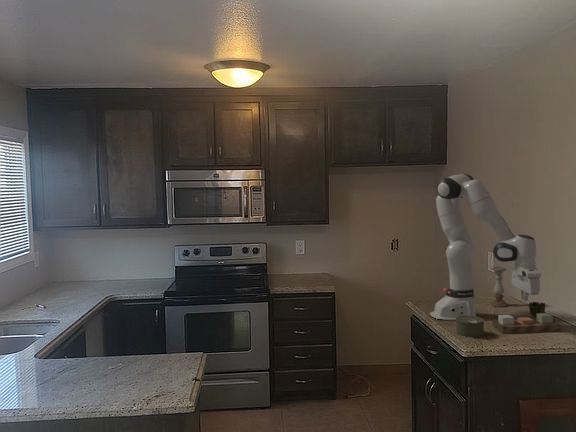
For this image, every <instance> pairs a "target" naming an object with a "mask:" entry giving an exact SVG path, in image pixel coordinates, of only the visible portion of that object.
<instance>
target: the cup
mask: <svg viewBox="0 0 576 432" xmlns="http://www.w3.org/2000/svg"><path fill="white" fill-rule="evenodd" d="M528 308H529V313H530V315H531V316H532V318H537V313H546V303H545V302H541V303H539V301H537V302H536V301H533V302H532V301H531V302H528Z"/></svg>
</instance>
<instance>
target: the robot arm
mask: <svg viewBox="0 0 576 432" xmlns="http://www.w3.org/2000/svg"><path fill="white" fill-rule="evenodd" d="M435 190H436V194H437V196H436V198H435V204H436V205H435V206H436V210H437V215H438V217H439V218H438V219H439V222H440V225H441V229H442V231H443V233H444V235H445V237H446V238H447V240H448V243H449V245H448V246H447V248H446V250H445V256H446V259H447V265H448V271H449V287H448V288H446V287H444V288H443V289H442V291H443V292H444V293H445V296H444V297H442V298H441V299H440V300H438V301H437V302H436V303H435V305H434V311H431V312H429V315H431V316H432V317H434V318H436V319H435V320H437V319H443V320H442V321H456V318H457V317H460V316H476V317H477V314H476V310H475V304H474V303H475V302H474V298H475V292H474V290H475V289H474V287H473V286H474V285H473V284H474V283H473V278H474V276H473V272H472V271H473V270H472V266H471V258H472V257H473V256H474V254H475V249H476V248H475V243H474V241H473V239H472V238H471V235H470V233H469V230H468V229H467V227H466V224H465V220H464V218H463V214H462V210H461V207H460V205H459V200H460V198H461V199H464V200H465V201H466V203H467V206H468V207H469V209H470V211H471V212H472V214H473V216H474V217H475V218H476V219H478V220H480V221H482V222H485V223H487V224H488V225H490V226H491V227H492V229H493V230H494V232H495V233H496V236H497V237H498V239H499V241H500V242H497V243H496V244H495V245H494V246H493V248H492V249H493V250H492V253H493V256H494V258H495V259H496V260H497V261H499V262H502V263H503V262H504V263H506V262H507V263H508V262H514V269H513V271H512V274H511V282H510V283H511V286H513V288H517V289H518V290H519V294H520V299H521V300H522V301H525V302H526V301H529V300H528V299H529V296H530V295H531V296H536V295H539V294H540V289H541V280H540V278H542V277H541V276H542V273H541V272H540V270H539V269H538V268H537V263H536V257H537V245H536V244H537V243H536V240H535V238H534V237H532V236H530V235H528V234H518V235H516V236H515V235H514V233H513V232H512V231H511V229H510V227H509V225H508V224H507V222H506V220H505V219H504V218H503V216H502V214H501V213H500V210H499V209H498V207H497V206H496V203H495V201H494V199H493V197H492V195H491V193H490V192H489V190H488V189H487V187H486V186H485V185H484V183H483V182H482V181H481V180H479V179H474V177H473V176H472V175H470V174H468V173H460V174H454V175H450V176H448V177H444V178H442V179H440V180H439V181H438V183H437V184H436V188H435ZM431 316H430V317H431ZM432 317H431V318H432ZM434 318H433V319H434Z"/></svg>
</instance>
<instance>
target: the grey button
mask: <svg viewBox="0 0 576 432" xmlns="http://www.w3.org/2000/svg"><path fill="white" fill-rule="evenodd" d="M497 318H498V319H497V320H498V323H500V324H502V325H514V319H515V316H512V315H510V314H498V317H497Z"/></svg>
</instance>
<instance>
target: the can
mask: <svg viewBox="0 0 576 432" xmlns="http://www.w3.org/2000/svg"><path fill="white" fill-rule="evenodd" d="M455 322H456V335H457V334H458V335H457V336H459V335H461V336H460V337H462V336H465V337H464V338H467V337H478V338H482V337H483V336H484V335H485V333H484V332H485V330H484V325H485V324H484V322H485V319H484V318H482V317H480V316H477V315H476V316H460V317H457V318H456V320H455Z"/></svg>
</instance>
